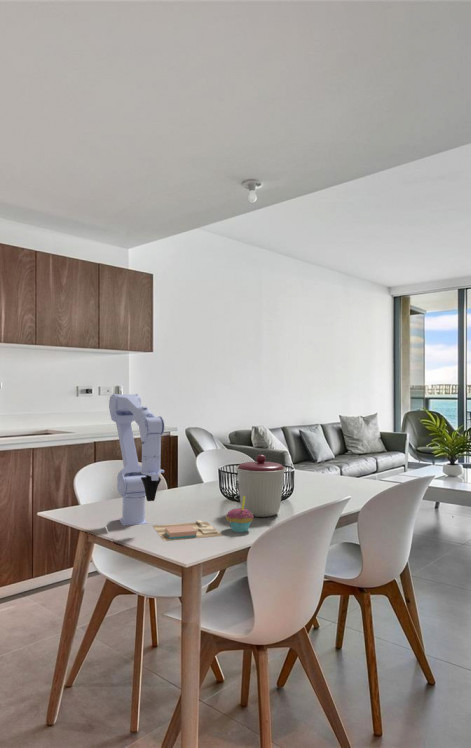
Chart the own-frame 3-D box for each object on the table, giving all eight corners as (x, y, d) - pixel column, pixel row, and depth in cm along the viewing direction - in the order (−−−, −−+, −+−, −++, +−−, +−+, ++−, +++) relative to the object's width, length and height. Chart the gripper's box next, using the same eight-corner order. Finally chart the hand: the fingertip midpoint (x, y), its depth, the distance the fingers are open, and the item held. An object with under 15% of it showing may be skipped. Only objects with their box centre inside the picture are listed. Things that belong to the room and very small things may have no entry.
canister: (270, 522, 177) (270, 459, 178) (225, 515, 187) (225, 455, 188) (294, 512, 192) (294, 454, 193) (251, 506, 202) (252, 450, 203)
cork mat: (152, 527, 170) (152, 525, 170) (206, 523, 176) (206, 521, 176) (163, 542, 153) (163, 540, 153) (223, 537, 159) (223, 535, 159)
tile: (165, 527, 161) (169, 533, 155) (190, 525, 164) (196, 530, 157) (164, 533, 161) (169, 539, 155) (190, 531, 164) (196, 537, 157)
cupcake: (258, 531, 166) (259, 492, 167) (241, 536, 160) (241, 496, 160) (238, 526, 172) (238, 489, 172) (220, 531, 166) (220, 492, 166)
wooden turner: (191, 523, 174) (191, 520, 174) (204, 522, 175) (204, 519, 175) (203, 534, 160) (203, 531, 160) (217, 533, 161) (217, 530, 161)
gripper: (169, 458, 158) (168, 504, 157) (159, 453, 172) (158, 495, 171) (145, 459, 156) (144, 506, 155) (137, 453, 169) (136, 496, 169)
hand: (150, 500), depth 163 cm, fingers closed
